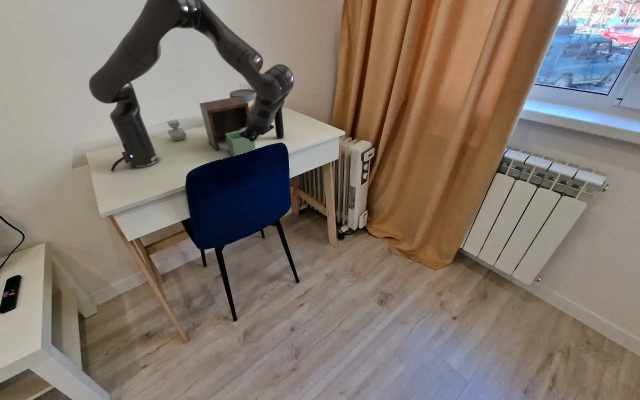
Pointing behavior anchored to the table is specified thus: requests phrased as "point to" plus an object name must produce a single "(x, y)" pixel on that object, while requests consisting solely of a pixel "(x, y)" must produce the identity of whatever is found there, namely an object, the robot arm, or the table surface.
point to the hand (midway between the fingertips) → (251, 139)
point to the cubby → (223, 117)
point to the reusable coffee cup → (244, 95)
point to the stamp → (176, 130)
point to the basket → (238, 143)
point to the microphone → (279, 122)
